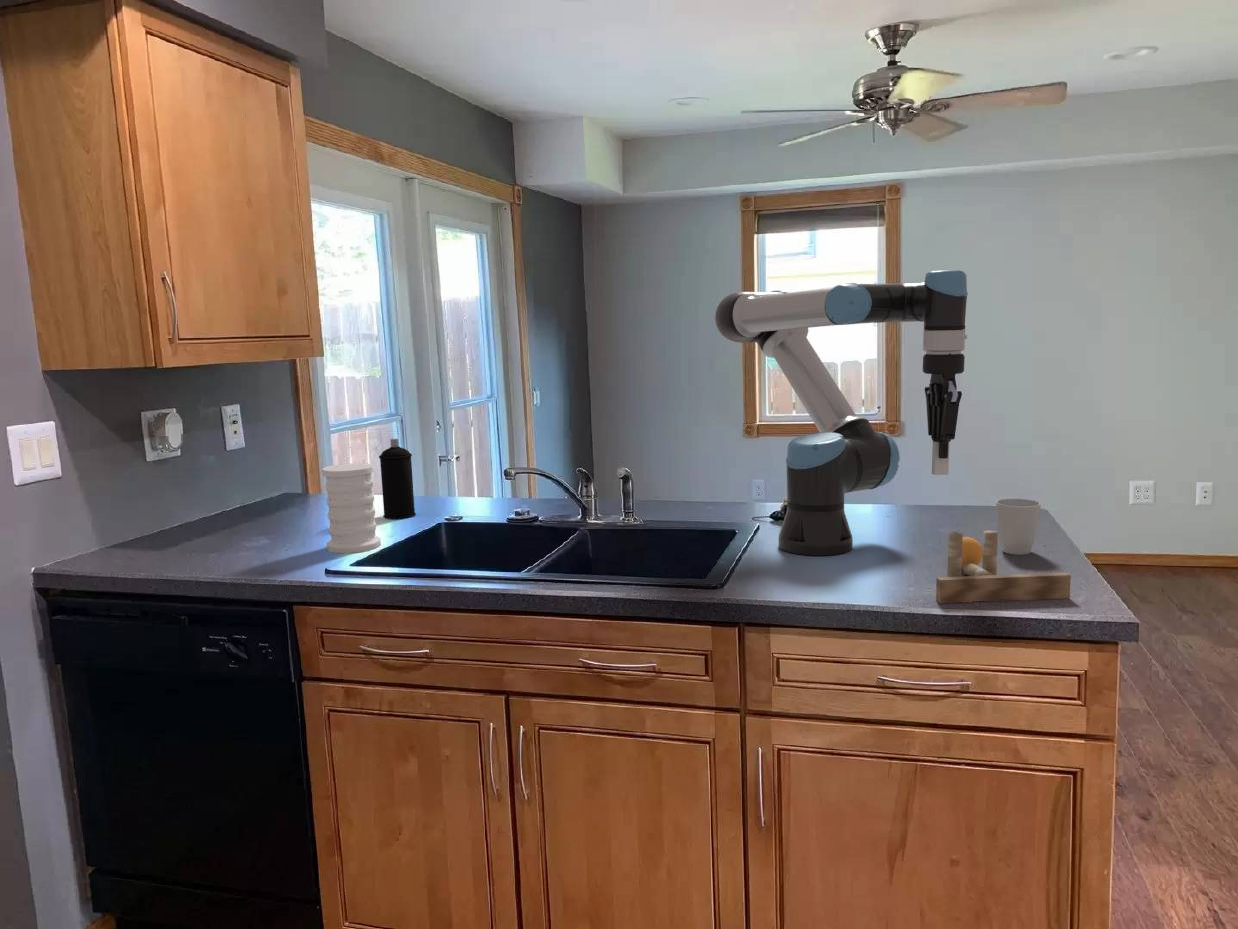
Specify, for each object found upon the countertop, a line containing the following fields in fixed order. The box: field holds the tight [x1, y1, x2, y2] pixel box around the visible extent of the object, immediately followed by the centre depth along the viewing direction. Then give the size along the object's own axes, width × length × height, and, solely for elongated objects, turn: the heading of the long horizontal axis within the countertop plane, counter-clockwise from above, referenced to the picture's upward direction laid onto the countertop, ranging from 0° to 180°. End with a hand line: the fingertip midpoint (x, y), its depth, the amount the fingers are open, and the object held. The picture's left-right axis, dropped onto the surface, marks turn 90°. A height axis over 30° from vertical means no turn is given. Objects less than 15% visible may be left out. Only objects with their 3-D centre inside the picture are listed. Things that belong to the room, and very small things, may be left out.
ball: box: [962, 536, 983, 569], centre depth 172 cm, size 6×6×6 cm
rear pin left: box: [982, 530, 999, 575], centre depth 165 cm, size 2×2×8 cm
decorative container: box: [321, 462, 382, 554], centre depth 202 cm, size 12×12×18 cm
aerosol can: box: [378, 438, 417, 520], centre depth 233 cm, size 8×8×20 cm
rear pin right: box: [946, 531, 964, 577], centre depth 165 cm, size 2×2×8 cm
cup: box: [995, 498, 1041, 556], centre depth 182 cm, size 8×8×10 cm
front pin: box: [962, 562, 994, 576], centre depth 164 cm, size 2×2×8 cm
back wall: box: [935, 572, 1072, 604], centre depth 153 cm, size 22×2×4 cm, turn 92°
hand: (940, 473), depth 179 cm, fingers closed
